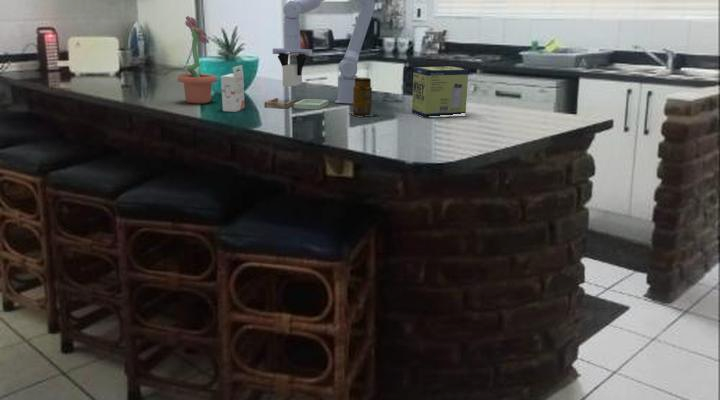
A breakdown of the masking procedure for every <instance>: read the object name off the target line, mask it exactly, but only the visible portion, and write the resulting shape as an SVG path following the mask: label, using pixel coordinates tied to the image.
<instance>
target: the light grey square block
mask: <svg viewBox="0 0 720 400" xmlns="http://www.w3.org/2000/svg"><path fill="white" fill-rule="evenodd" d="M281 67H282V87H283V86H284V87H296V86H299V85H302V84H303V72H302V73H301V75H300V76H298V74H297V62H291V61H290V63H288V65H285V66H282V65H281Z"/></svg>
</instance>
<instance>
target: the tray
mask: <svg viewBox="0 0 720 400" xmlns="http://www.w3.org/2000/svg"><path fill="white" fill-rule="evenodd" d="M328 105H329V100H328V99H318V98H317V99H315V98H303V99H301V100H299V101H298V100H297V102H296V103H294V106H293V108H294V109H296V110H297V109H301V110H314V111H315V110H318V111H319V110H320V109H323V108H325V107H327V106H328Z"/></svg>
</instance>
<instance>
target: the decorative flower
mask: <svg viewBox="0 0 720 400" xmlns="http://www.w3.org/2000/svg"><path fill="white" fill-rule="evenodd" d="M184 23H185V26H186V27H188V28H189V30H190V32H191V37H192V42H191V53H192V59H193V64H190V65H183V64H181V63H180V65H181V66H183V67H186V70H187V72H189V73H184V74H183V73H182V74H179V75H178V76H177V82H178V83H183V89H184V97H185V101H186V102H187V103H188V104H195V105H197V104H208V103H210V102H211V99H212V84H214V83H217V82H218V78H217V75H215V74H208V73H198V72H197V71H196V69H197V68H198V67H201V65H200V58H199V54H198V53H199V52H198V42H201V43H202V44H204V45H206V44H210V41H209V39H208V38H207V37H208V36H207V33H206V32H205V31H204V29H202V28H198V27H197V26H198V24H199V22H198V20H197V19H196V18H194V17H193V16H191V17H190V16H189V15H188V16H185V21H184Z"/></svg>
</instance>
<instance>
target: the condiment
mask: <svg viewBox="0 0 720 400" xmlns="http://www.w3.org/2000/svg"><path fill="white" fill-rule="evenodd" d="M371 81H372V80H371V78H370V77H358V78H355V86H354V88H353V104H352V113H353V114H352V116H354V117H359V118H364V117H363V116H365V115H370V114H372V104H373V103H372V101H373V100H372V96H373V95H372V94H373V91H372V86H371V85H372V82H371Z"/></svg>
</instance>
